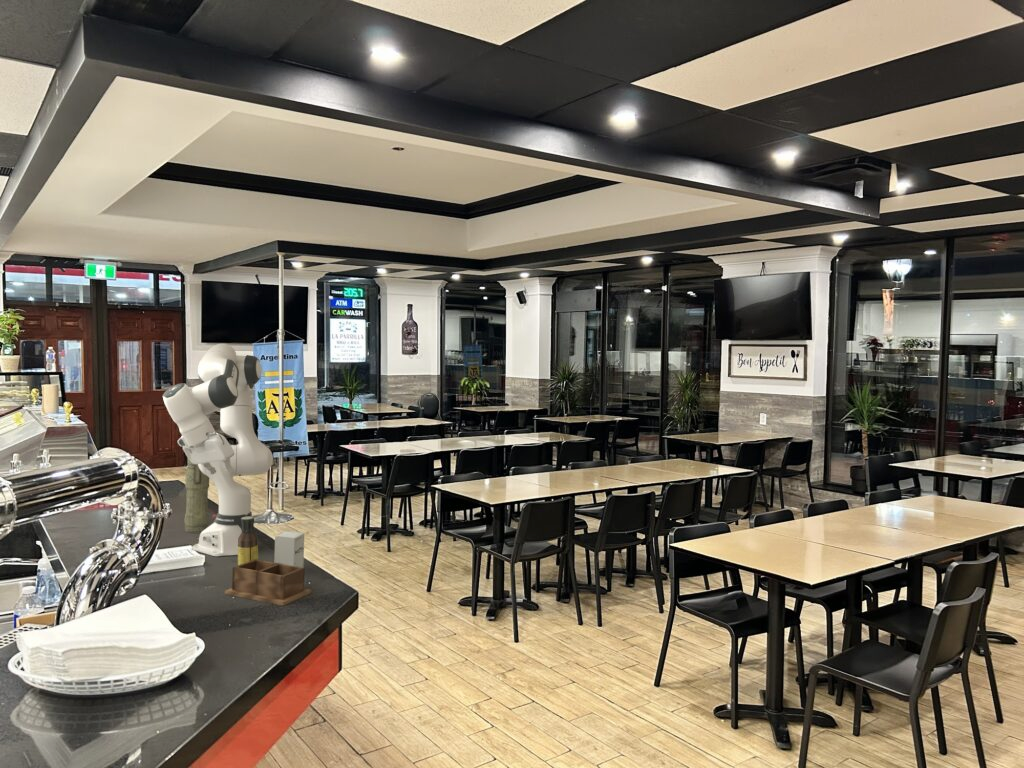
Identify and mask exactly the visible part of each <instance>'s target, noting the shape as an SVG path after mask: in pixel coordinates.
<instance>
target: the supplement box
mask: <svg viewBox="0 0 1024 768" xmlns="http://www.w3.org/2000/svg"><path fill="white" fill-rule="evenodd" d="M304 554H305V533H304V532H298V531H297V532H296V531H283V532H282V533H280V534H277V535H275V536H274V560H273V561H274V563H279V564H285V565H290V566H296V567H301V568H304V563H305V562H304V560H305V557H304V556H305V555H304Z"/></svg>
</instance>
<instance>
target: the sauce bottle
mask: <svg viewBox="0 0 1024 768" xmlns="http://www.w3.org/2000/svg"><path fill="white" fill-rule="evenodd" d="M254 522H255V517H254V516H252V517H251V516H247V517H242V518H241V523H242V533H241V534H240V536H239V538H238V555H237V566H238V565H241V564H243V563H246V562H249V561H252V560H255V559H257V560H259V544H258V541H259V540H258V536H257V533H255V528H254V527H255V525H254V524H255V523H254Z"/></svg>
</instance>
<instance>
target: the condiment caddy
mask: <svg viewBox="0 0 1024 768" xmlns="http://www.w3.org/2000/svg"><path fill="white" fill-rule="evenodd" d="M231 577H232V579H231V580H232V582H231V584H232V585H231V588H228V589H225V590H224V594H225V595H229V596H233V597H239V598H243V599H249V600H253V601H258V602H263V603H267V604H268V603H269V604H272V603H273V604H272V605H278V606H281V605H283V606H286V605H289V604H290V603H292V602H295V601H296V600H298V599H302V598H303V597H304V596H307V595H309V594H311V593H312V590H311V589H309V588H305V567H303V568H301V567H296V566H290V565H285V564H279V563H274V562H272V561H269V560H268V561H266V560H261V559H258V560H257V559H255V560H252V561H249V562H246V563H243V564H241V565H238V564H237V565H235V566H233V567H232V576H231ZM283 606H282V607H283Z"/></svg>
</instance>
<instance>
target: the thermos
mask: <svg viewBox="0 0 1024 768" xmlns="http://www.w3.org/2000/svg"><path fill="white" fill-rule="evenodd" d="M184 487H185V489H186V496H185V497H186V498H185V499H186V500H185V501H186V502H185V505H186V508H185V514H184V523H183V524H184V532H186V533H189V534H198V533H200V534H201V532H202V531H203V530H205V529H206V528H207V527H209V524H210V523H209V522H210V521H209V520H210V518H209V517H210V516H209V514H208V513H209V512H208V502H209V501H208V499H209V498H208V496H209V495H208V494H209V488H210V478H209V477H208V476H207V475H205V474H204V473H202V472H201V470H200V469H199V467H198V464H193V463H192V462H191V461H190V460H189V458H188V457H187V469H186V473H185V485H184Z"/></svg>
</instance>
